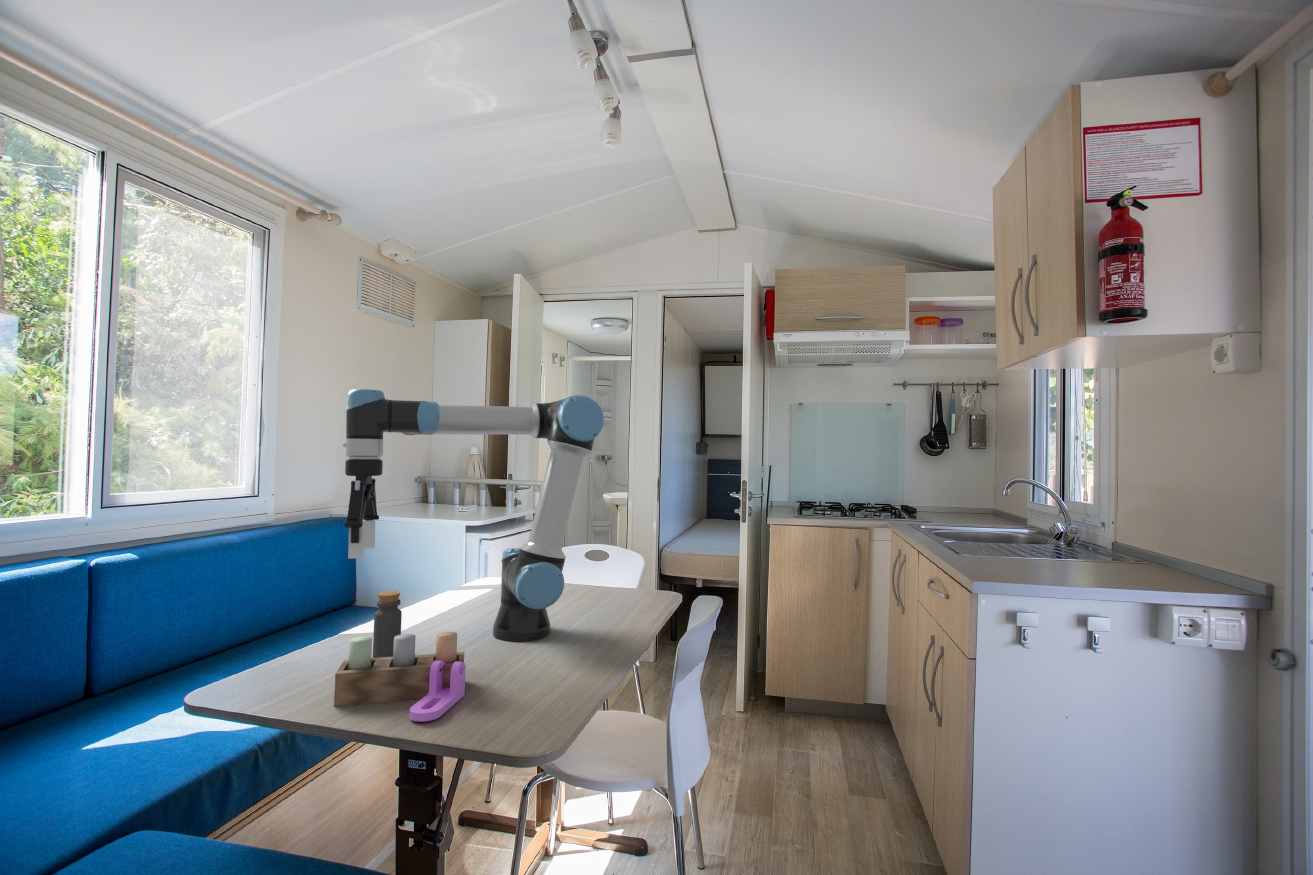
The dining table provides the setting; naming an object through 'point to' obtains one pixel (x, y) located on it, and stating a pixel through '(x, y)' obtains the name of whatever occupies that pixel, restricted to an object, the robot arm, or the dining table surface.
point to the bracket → (440, 693)
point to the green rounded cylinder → (360, 653)
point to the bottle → (386, 624)
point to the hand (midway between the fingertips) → (362, 553)
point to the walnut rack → (387, 680)
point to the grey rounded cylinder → (404, 650)
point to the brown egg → (446, 647)
